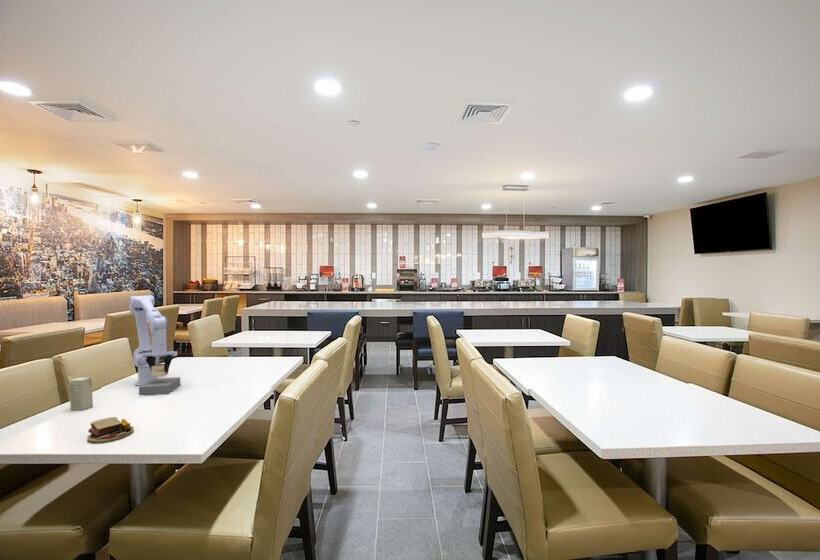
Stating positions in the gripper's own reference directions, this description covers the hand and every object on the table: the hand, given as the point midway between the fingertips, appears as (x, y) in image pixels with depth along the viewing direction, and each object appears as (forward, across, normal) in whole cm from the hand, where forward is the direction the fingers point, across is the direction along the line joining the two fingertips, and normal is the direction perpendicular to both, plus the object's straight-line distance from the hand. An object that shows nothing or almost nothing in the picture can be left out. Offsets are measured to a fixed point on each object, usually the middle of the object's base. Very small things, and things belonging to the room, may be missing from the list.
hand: (160, 372), depth 184 cm
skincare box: (+9, -22, -19) cm, 30 cm away
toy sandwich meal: (+9, +5, -52) cm, 53 cm away
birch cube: (+2, 0, 0) cm, 2 cm away
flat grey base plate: (+9, 0, 0) cm, 9 cm away
